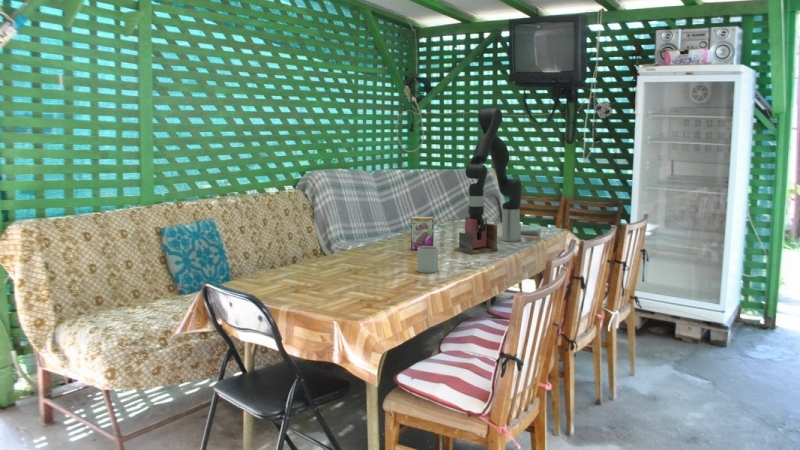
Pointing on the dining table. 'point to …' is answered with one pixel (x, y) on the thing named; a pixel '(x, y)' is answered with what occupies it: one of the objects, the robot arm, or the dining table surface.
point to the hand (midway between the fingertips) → (475, 239)
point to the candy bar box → (422, 232)
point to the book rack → (467, 247)
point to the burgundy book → (475, 232)
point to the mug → (427, 259)
